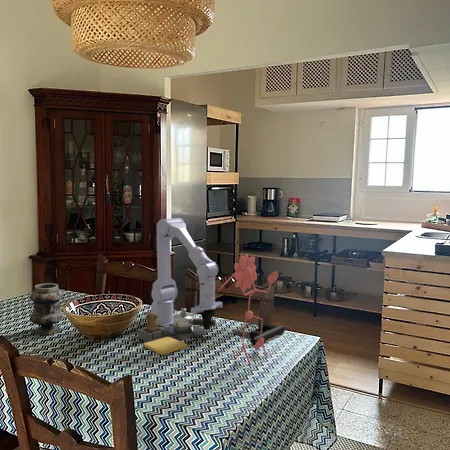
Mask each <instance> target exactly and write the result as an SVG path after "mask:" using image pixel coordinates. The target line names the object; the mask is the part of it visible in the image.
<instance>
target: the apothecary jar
mask: <svg viewBox="0 0 450 450" xmlns="http://www.w3.org/2000/svg"><path fill="white" fill-rule="evenodd" d="M63 296H64V293H63V292H62V290H60V288H59V285H58V284H57V283H40V284H36V285H34V289H33V291H32V292H31V294H30V295H29V298H30V301H32V302H33V308H32V309H33V312H32V313H31V314H30V316H29V320H30V322H31V323H33V325H36V326H39V327H36V328H35V329H34V330H33V334H34V333H35V335H37V334H39V335H38V336H47V335H46V334H49V335H53V333H54V334H56V332H57V333H59V332H60V331H61V327H60V326H58V325H56V324H58V323H60V322H61V321H62V320H63V318H64V312H62V311H61V306H60V305H61V303H60V301H61V300H62V298H63ZM58 331H59V332H58Z"/></svg>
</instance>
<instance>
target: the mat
mask: <svg viewBox="0 0 450 450" xmlns="http://www.w3.org/2000/svg"><path fill="white" fill-rule="evenodd" d="M143 347H144V348H147V349H149V350H150V351H153V352H155V353H157V354H160V355H161V356H163V355H166V354H170V353H173V352H176V351H178V350H179V351H180V350H182V349H185V348H187V347H188V344H187V343H186V342H182V341H181V340H179V339H176V338H174V337H172V336H169V335H167V336H166V337H164V338H161V339H157V340H154V341H150V342H147V341H146V342H144V343H143Z"/></svg>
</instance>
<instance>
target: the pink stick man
mask: <svg viewBox="0 0 450 450" xmlns="http://www.w3.org/2000/svg"><path fill="white" fill-rule="evenodd" d="M255 262H256V257H255V256H250V257H249V254H248V253H246V254H244V255H242V254H241V255H240V256H239V260H238V263H237V262H235V263H234V265H233V267H234V273H232V275H231V276H229V277H228V279H227V280H225V281H224V283H223V284H221V286H220V287H219V289H218V291H220V290H221V289H222V288H223V287H224V286H225V285H226V284H227V283H228V282H229V281H231V279H232V278H234V280H236V281H235V284H234V286H235V288H240V290H241V291H242V294H243V296H244V297H246V296H248V295H249V297H248V305H247V311H246V312H245V315H244V316H245V319H244V325H243V330H244V331H243V336H242V346H241V349H240V351H239V352H238V354H237V356H236V357H235V358H234V360H233V361H234V362H236V361H237V359H238V358H239V357H240V355H241V353H242V352H243V351H244V355H245V357H246V360H247V363H248V365H251V361H250V359H249V356H248V353H247V350H246V348H245V347H246V344H244V343H245V336H244V332H245V331H246V324H247V320H251V319H253V318H256V319H259V320H261V323H260V324H261V334H262V323H264V320H263V318H260V317H259V316H258V317H257V316H255V315H254V312H253V311H251V310H250V305H251V298H252V297H251V296H253V294H255V293H256V292H258V293H259V292H260V293H265V294H268V293H269V291H270V289H271V286H272V285H273V283H274V282H276V281H277V280H278V278H279V273H278V271H276V270H275V271H274V272H271V273H270V274H269V275H268V276H267V282H268V283H269V286H268V288H267V290H261V289H257V288H256V285H255V282H254V281H257V279H258V274H257V271H256V270H257V267H256V264H255ZM251 287H253V290H250V291H248V292H246V291H247V289H251ZM245 292H246V293H245ZM261 334H260V339H259V340H258V341H257V342H256V344H255V345H253V346H254V349H255V350H256V351H258V350H259V349H260V348H261V347H262V349H263V352H264V355H265V357H268V353H267V350H266V348H265V346H264V343H265V342H264V338H262V339H261ZM238 347H240V346H237V348H238ZM234 348H236V346H234V347H233V346H232V347H231V348H226V349H223V351H221V352H220V354H221V353H223V352H225V351H227V350H230V349H234ZM275 351H277V352H278V350H277V349H276V350H275Z"/></svg>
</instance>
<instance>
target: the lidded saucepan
mask: <svg viewBox="0 0 450 450" xmlns="http://www.w3.org/2000/svg"><path fill="white" fill-rule="evenodd" d="M194 315H195V314H192V313H188V312H187V308H185V307H181V308H180V313H176V314H173V324H172V326H173V330H174V331H177V332H190V331H192V330H194V325H195V326H200V327H201V326H202V327H203V318H195V316H194ZM216 320H217V319H211V325H210V327H216V325H217V321H216Z"/></svg>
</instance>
